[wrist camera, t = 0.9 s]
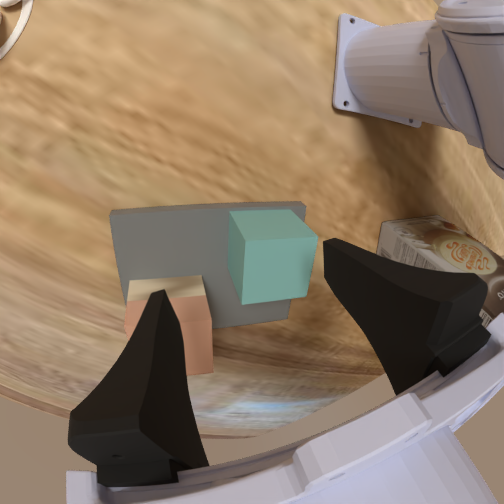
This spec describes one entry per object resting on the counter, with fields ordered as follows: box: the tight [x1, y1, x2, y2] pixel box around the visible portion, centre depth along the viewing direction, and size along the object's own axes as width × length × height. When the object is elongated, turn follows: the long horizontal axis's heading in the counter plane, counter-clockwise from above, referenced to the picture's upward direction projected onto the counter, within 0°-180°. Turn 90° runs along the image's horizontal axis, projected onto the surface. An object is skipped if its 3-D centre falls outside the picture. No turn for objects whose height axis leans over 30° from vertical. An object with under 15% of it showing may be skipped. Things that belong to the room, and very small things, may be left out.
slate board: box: [109, 201, 306, 329], centre depth 22 cm, size 14×11×1 cm
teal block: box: [228, 209, 318, 305], centre depth 20 cm, size 4×4×4 cm
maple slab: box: [127, 275, 206, 301], centre depth 21 cm, size 6×6×2 cm
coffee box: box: [376, 215, 504, 328], centre depth 21 cm, size 9×6×16 cm
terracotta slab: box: [124, 295, 214, 376], centre depth 19 cm, size 6×6×2 cm
